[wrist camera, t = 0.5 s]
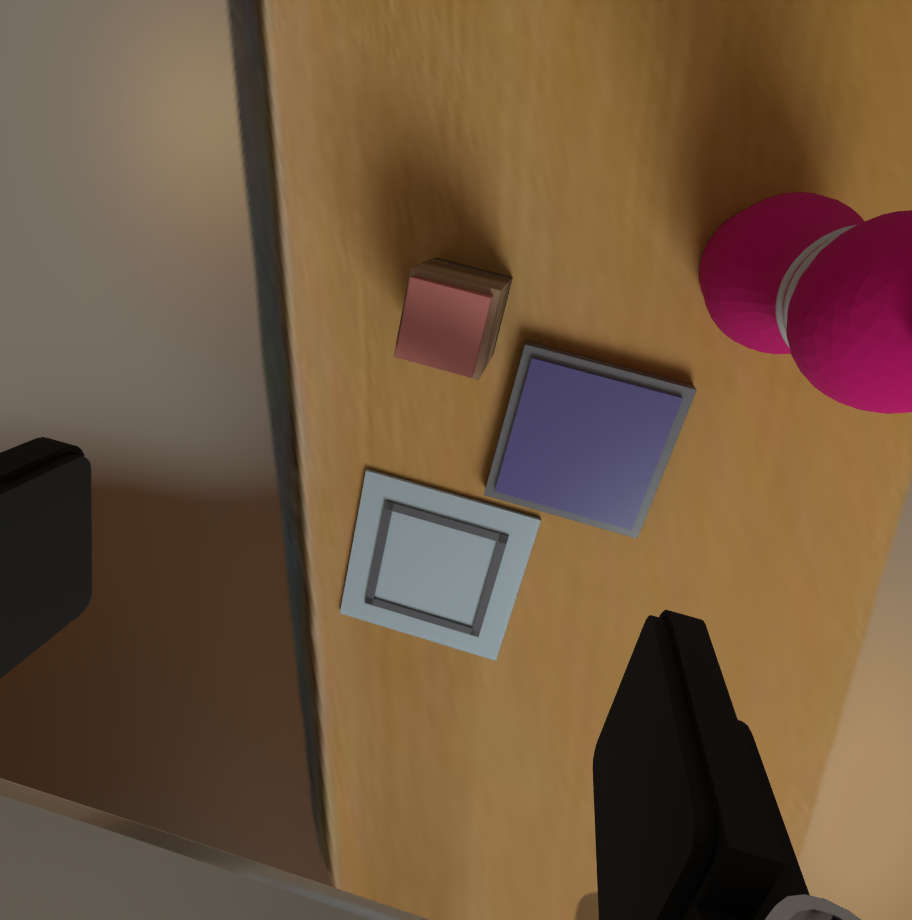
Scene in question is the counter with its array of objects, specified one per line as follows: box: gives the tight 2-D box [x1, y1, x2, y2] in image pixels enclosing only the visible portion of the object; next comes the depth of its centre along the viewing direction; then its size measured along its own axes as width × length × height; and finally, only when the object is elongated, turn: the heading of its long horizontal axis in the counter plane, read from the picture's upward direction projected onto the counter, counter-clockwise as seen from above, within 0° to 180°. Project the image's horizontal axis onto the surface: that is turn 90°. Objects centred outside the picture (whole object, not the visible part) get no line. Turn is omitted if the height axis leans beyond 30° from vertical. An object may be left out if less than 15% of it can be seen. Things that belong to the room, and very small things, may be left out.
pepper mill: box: [699, 192, 912, 414], centre depth 25 cm, size 7×7×20 cm
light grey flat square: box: [340, 469, 541, 661], centre depth 44 cm, size 12×12×1 cm
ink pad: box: [484, 341, 696, 538], centre depth 38 cm, size 10×10×1 cm
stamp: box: [394, 258, 512, 380], centre depth 34 cm, size 5×5×7 cm
